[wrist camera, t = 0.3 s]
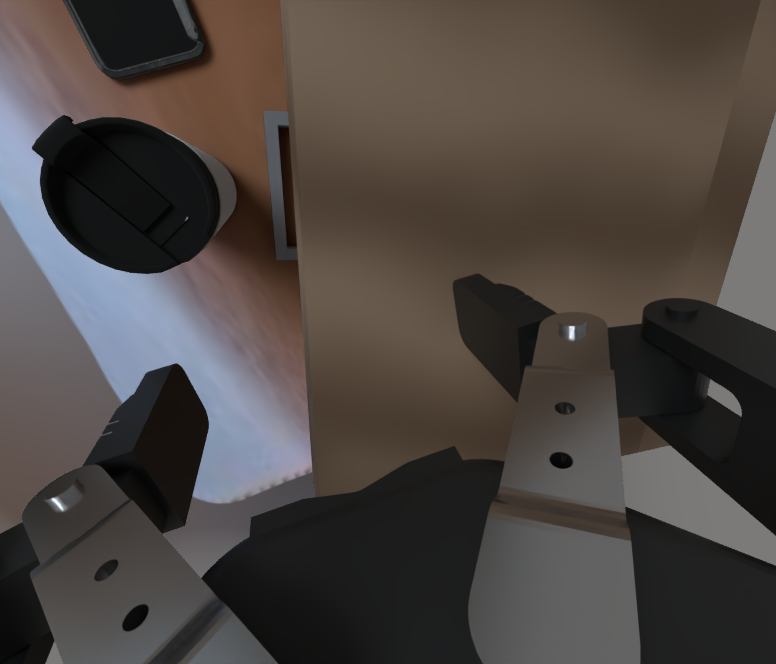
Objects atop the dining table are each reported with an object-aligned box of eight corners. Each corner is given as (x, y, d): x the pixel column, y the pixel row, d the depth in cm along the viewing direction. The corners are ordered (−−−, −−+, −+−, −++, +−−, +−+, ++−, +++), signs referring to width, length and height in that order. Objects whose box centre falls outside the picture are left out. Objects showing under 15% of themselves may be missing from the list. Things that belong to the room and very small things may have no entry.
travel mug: (188, 129, 32) (102, 65, 14) (252, 194, 35) (247, 207, 17) (134, 184, 32) (-19, 188, 15) (202, 244, 35) (146, 308, 17)
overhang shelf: (258, 56, 32) (259, -438, 6) (437, 73, 36) (866, -185, 11) (279, 299, 39) (320, 523, 13) (428, 288, 43) (673, 444, 18)
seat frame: (263, 113, 33) (263, 110, 32) (400, 120, 37) (405, 118, 35) (276, 257, 38) (276, 260, 36) (397, 252, 41) (402, 255, 40)
